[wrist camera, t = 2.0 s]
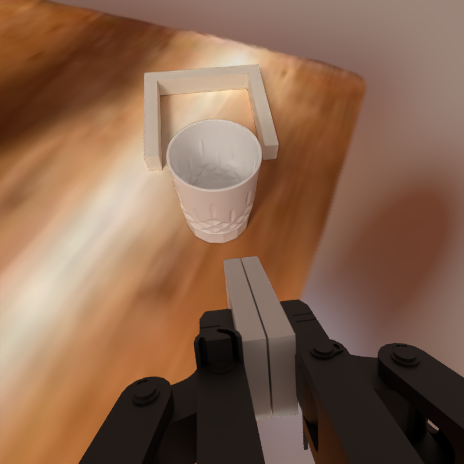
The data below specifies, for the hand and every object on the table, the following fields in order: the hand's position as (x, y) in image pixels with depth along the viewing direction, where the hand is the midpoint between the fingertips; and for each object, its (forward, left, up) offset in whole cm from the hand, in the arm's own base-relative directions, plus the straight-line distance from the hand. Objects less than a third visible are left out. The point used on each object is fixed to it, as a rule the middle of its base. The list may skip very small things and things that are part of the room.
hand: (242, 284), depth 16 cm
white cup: (-9, +10, -16) cm, 21 cm away
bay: (-18, +21, -16) cm, 32 cm away
